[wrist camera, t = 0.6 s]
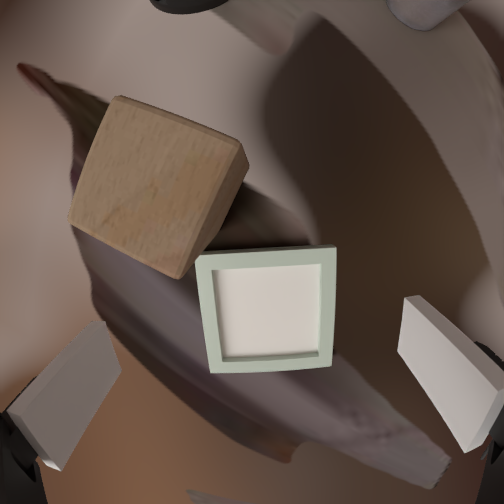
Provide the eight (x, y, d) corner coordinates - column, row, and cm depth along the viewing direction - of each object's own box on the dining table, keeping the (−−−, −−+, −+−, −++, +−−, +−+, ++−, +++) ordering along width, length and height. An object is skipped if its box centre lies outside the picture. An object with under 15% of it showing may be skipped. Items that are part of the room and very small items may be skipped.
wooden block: (250, 164, 36) (244, 141, 17) (217, 234, 38) (179, 284, 19) (182, 134, 36) (113, 91, 16) (151, 202, 38) (63, 222, 18)
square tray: (197, 251, 39) (194, 255, 37) (332, 244, 38) (336, 247, 36) (212, 364, 43) (210, 372, 41) (328, 358, 42) (331, 366, 40)
